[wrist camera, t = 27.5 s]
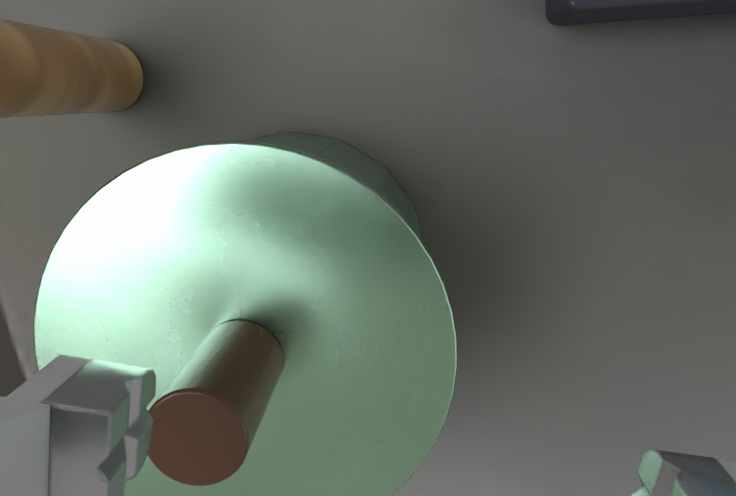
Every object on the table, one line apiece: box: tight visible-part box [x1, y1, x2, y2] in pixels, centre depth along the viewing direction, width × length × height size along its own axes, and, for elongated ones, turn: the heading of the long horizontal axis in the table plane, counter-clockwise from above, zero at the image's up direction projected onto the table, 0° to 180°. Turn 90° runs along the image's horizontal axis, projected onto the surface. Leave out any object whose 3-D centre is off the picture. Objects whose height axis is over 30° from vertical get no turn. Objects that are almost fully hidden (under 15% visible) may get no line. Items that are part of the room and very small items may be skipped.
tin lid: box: [33, 141, 457, 496], centre depth 17 cm, size 12×12×6 cm
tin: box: [249, 132, 423, 241], centre depth 24 cm, size 11×11×10 cm
